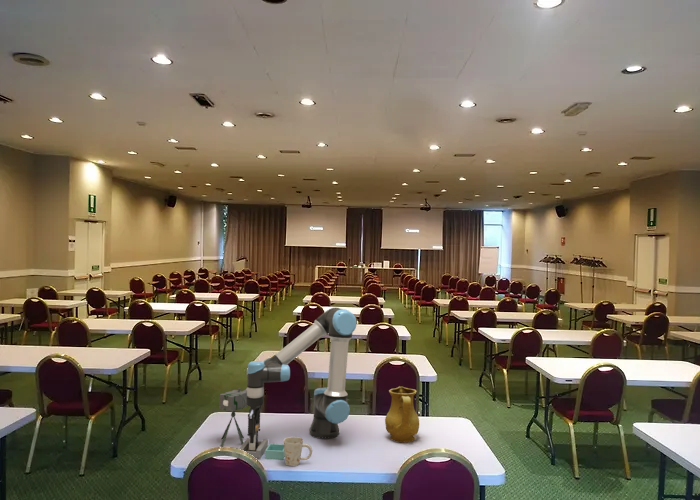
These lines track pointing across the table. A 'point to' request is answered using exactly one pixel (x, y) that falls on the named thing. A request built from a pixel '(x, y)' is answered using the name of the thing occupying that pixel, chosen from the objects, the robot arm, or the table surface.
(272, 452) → the tray
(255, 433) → the aa cell
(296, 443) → the mug
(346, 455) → the table surface
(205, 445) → the table surface
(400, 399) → the pitcher
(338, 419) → the robot arm
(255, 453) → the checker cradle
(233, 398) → the camera
